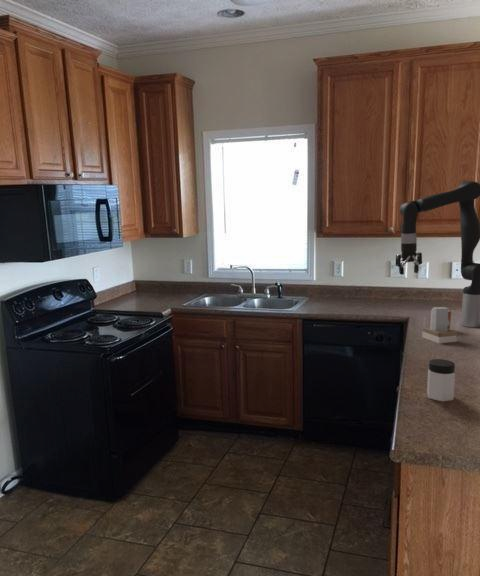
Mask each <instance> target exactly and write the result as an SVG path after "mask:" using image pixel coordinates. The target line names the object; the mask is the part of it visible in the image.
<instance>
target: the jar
mask: <svg viewBox="0 0 480 576" xmlns="http://www.w3.org/2000/svg"><path fill="white" fill-rule="evenodd" d="M455 367H456V363H454V362H453V361H451V360H448V359H443V358H440V359H439V358H436V359H435V358H434V359H431V360H428V368H427V381H426V382H427V383H426V395H427V397H428V399H431V400H435V401H438V402H449V401H454V397H455V396H454V395H455V380H456V372H455V369H456V368H455Z"/></svg>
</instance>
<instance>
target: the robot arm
mask: <svg viewBox="0 0 480 576" xmlns="http://www.w3.org/2000/svg"><path fill="white" fill-rule="evenodd" d="M479 197H480V183H479V182H477V181H474V180H473V181H472V180H471V181H470V180H464V181H462V182H461V183H459V185H458V187H457V188H456V189H452V190H449V191H444V192H440V193H435V194H431V195H428V196H424V197H422V198H419V199H416V200H415V199H414V200H411V201H407V202H406V201H405V203H402V204H401V205H400V207H399V213H400V214H401V215H402V216H403V222H402V223H401V234H400V235H401V236H400V246H401V247H400V250H401V254H396V255H395V266H396V267H398V269H399V275H404V274H405V271H404V270H405V269H404V268H405V267H404V266H405V265H406V264H407V263H413V264H414V265H413V273H415V274H417V273H419V271H420V269H419V266H420V265H422V264H423V255H422V252H419V251H418V252H417V250H418V248H417V241H418V240H417V225H416V224H417V221H418V220H417V219H418V214H419V213H422V212H423V213H425V212H428V211H432V210H434V209H438V208H441V207H445V206H447V205H452V204H455V203H458V205H459V219H460V221H459V222H460V239H461V240H460V241H461V245H460V246H461V259H460V260H461V261H460V273H461V274H460V275H461V277H462V279H463V280H467V281H471V282H470V285H468V286H465V287H463V289H462V304H461V305H462V306H461V320H460V322H461V323H460V325H461V326H463V327H468V328H480V263H477V262H474V259H473V258H474V253H475V252H474V251H475V249H476V247H477V246H478V244H479V243H480V220H479V217H478V214H477V212H476V209H475V208H476V207H475V200H476V199H479Z"/></svg>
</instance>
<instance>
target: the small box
mask: <svg viewBox="0 0 480 576" xmlns="http://www.w3.org/2000/svg"><path fill="white" fill-rule="evenodd" d="M451 316H452V311H451V310H449V309H448V326H447V332H451V320H452V319H451V318H452V317H451ZM429 325H430V326H429V329H431V330H432V309H431V310H430V324H429Z"/></svg>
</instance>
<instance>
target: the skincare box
mask: <svg viewBox="0 0 480 576" xmlns="http://www.w3.org/2000/svg"><path fill="white" fill-rule="evenodd" d="M431 310H432V330H434V331H436V332H439V333H442V332H448V331H447V326H448V310H449V308H448V307H445V306H439V307H438V306H435V307H432V309H431Z"/></svg>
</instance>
